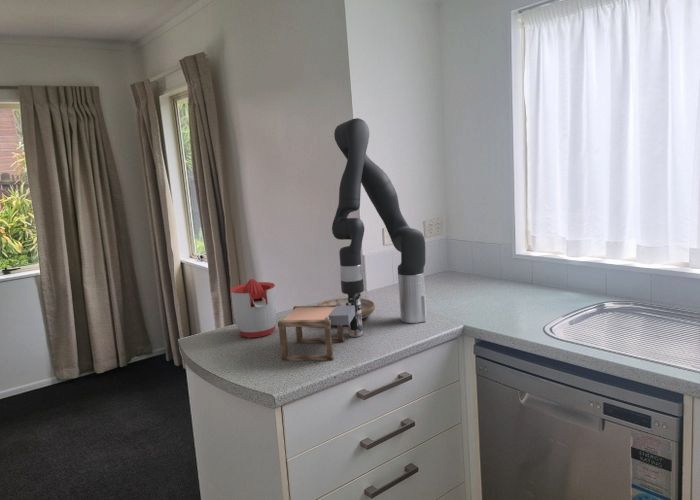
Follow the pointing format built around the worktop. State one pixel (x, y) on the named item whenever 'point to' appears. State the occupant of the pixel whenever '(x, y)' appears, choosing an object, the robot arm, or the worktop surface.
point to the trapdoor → (324, 314)
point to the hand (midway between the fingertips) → (355, 327)
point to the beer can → (359, 324)
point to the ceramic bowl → (366, 304)
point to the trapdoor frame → (309, 323)
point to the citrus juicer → (254, 308)
